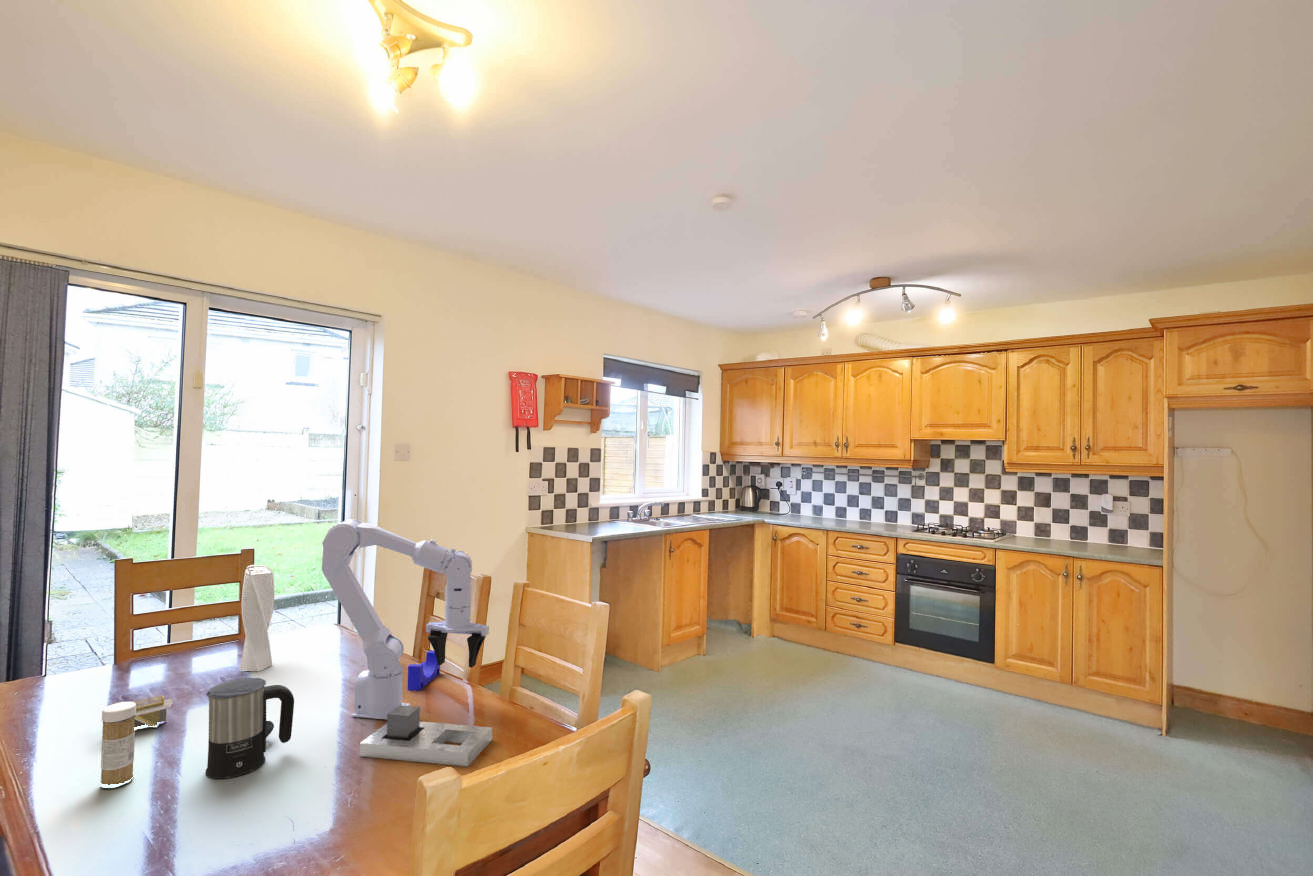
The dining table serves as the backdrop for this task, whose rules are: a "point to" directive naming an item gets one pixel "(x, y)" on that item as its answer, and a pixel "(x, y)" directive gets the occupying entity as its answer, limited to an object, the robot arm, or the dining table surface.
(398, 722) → the upright grey block
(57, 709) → the dining table surface
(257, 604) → the skyscraper
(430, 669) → the cable clip
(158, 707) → the platform
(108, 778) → the sprinkles bottle
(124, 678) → the dining table surface
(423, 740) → the grey flat slab
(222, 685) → the milk frother
